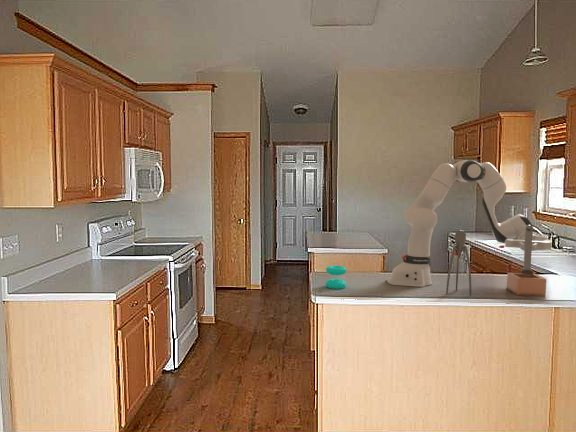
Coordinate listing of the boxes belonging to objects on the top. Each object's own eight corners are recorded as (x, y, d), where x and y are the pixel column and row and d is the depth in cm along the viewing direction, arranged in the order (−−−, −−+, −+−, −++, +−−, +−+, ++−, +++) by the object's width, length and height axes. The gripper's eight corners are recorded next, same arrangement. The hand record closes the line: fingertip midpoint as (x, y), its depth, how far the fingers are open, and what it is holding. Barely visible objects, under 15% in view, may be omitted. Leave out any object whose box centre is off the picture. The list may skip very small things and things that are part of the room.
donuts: (342, 264, 260) (349, 268, 251) (341, 284, 261) (349, 289, 252) (323, 265, 258) (330, 269, 248) (322, 285, 258) (329, 290, 249)
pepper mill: (521, 273, 247) (523, 225, 245) (520, 271, 252) (523, 224, 250) (532, 274, 245) (535, 225, 243) (532, 272, 250) (535, 224, 248)
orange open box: (516, 295, 243) (517, 278, 243) (506, 288, 256) (507, 272, 256) (545, 296, 243) (546, 279, 242) (533, 289, 256) (534, 273, 255)
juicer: (471, 295, 241) (474, 231, 238) (446, 294, 244) (448, 230, 241) (468, 291, 251) (471, 228, 248) (444, 289, 253) (446, 227, 250)
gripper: (505, 234, 263) (504, 238, 250) (550, 237, 255) (552, 240, 242) (504, 247, 264) (504, 251, 251) (549, 250, 256) (551, 254, 243)
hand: (528, 246), depth 247 cm, fingers closed on pepper mill, 3 cm apart
